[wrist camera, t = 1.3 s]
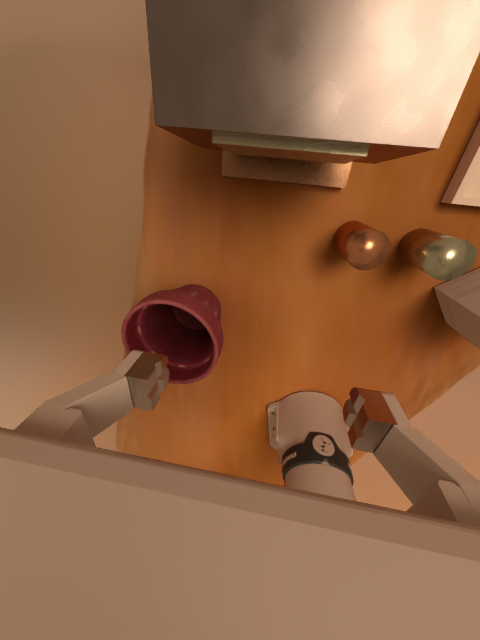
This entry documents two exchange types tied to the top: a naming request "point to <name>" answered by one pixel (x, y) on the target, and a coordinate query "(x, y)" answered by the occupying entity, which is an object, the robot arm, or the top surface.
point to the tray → (466, 176)
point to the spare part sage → (437, 253)
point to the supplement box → (462, 304)
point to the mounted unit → (310, 80)
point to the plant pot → (178, 331)
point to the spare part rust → (362, 245)
